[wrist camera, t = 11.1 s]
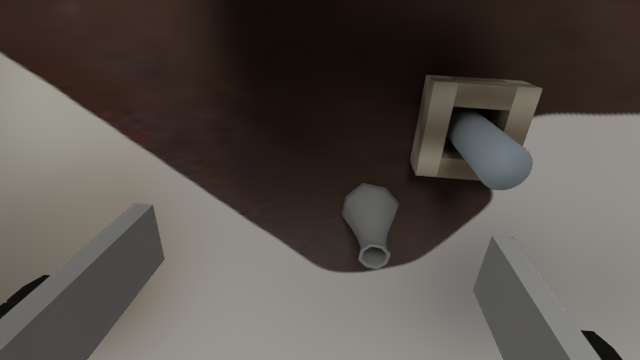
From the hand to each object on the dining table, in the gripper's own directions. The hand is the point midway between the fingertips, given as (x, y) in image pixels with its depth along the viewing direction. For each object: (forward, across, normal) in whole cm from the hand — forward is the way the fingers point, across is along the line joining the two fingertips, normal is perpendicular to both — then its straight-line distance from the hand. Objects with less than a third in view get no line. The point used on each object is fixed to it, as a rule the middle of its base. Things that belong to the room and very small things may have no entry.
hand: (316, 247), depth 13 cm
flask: (+27, +5, -14) cm, 31 cm away
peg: (+27, +14, -2) cm, 30 cm away
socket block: (+27, +14, -2) cm, 30 cm away
